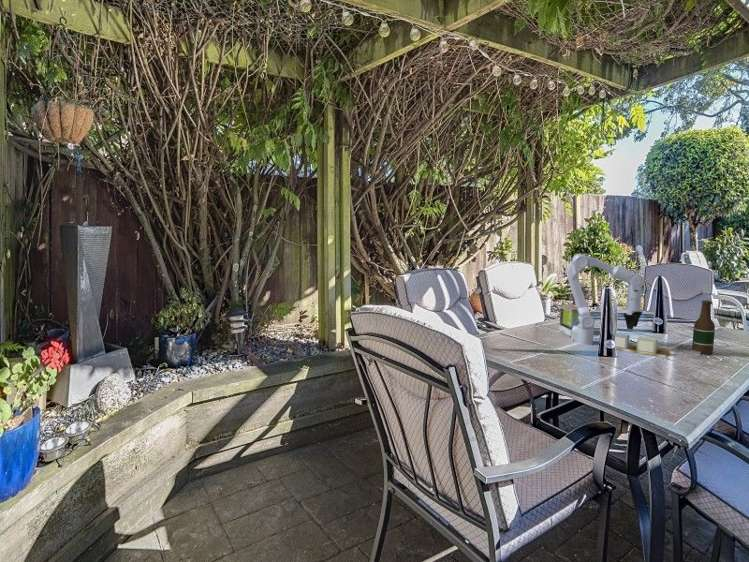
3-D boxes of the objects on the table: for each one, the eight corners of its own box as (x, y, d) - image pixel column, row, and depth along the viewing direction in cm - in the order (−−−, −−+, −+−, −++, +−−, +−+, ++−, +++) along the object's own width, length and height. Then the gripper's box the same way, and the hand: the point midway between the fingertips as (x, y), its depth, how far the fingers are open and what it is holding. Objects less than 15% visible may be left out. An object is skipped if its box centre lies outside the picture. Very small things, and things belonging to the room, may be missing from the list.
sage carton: (636, 352, 200) (637, 338, 200) (638, 350, 204) (639, 336, 203) (654, 355, 196) (655, 340, 195) (656, 353, 199) (657, 338, 198)
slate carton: (609, 347, 208) (610, 334, 207) (611, 345, 211) (612, 332, 210) (626, 350, 203) (627, 336, 202) (628, 348, 206) (629, 334, 206)
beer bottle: (690, 352, 204) (694, 300, 201) (693, 349, 210) (697, 298, 207) (711, 356, 199) (716, 302, 196) (713, 352, 205) (718, 300, 202)
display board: (604, 350, 208) (604, 344, 207) (615, 343, 221) (615, 337, 221) (665, 360, 192) (665, 354, 191) (672, 352, 205) (673, 346, 205)
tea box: (589, 337, 233) (591, 309, 232) (570, 337, 233) (571, 309, 232) (576, 330, 248) (578, 304, 247) (558, 330, 248) (560, 304, 247)
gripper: (640, 301, 201) (637, 331, 202) (647, 298, 211) (645, 326, 213) (622, 300, 205) (620, 329, 207) (630, 296, 216) (628, 324, 218)
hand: (631, 327), depth 210 cm, fingers open, 7 cm apart
